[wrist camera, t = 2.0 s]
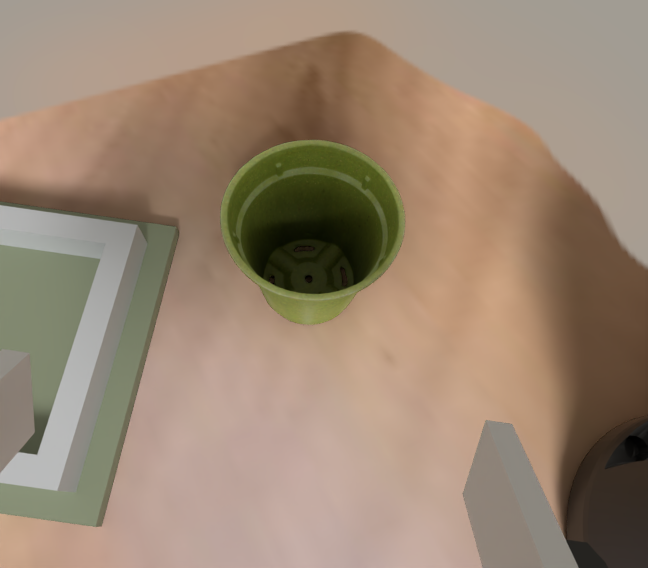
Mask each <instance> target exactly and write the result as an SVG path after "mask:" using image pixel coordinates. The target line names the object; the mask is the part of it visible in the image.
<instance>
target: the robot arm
mask: <svg viewBox="0 0 648 568" xmlns="http://www.w3.org/2000/svg"><path fill="white" fill-rule="evenodd" d="M34 433H35V427H34V411H33V396H32V380H31V365H30V353H26V352H19V351H13V350H6V349H2V350H1V351H0V473H1V472H2V470H3V469H4V468H5V467H6V466H7V465H8V463H9V462H10V461H11V460H12V459H13V458H14V456H15V455H16V454H17V453H18V452H19V450H20V449H21V448H22V447H23V446H24V445H25V443H26V442H27V441H28V440H29V439H30V438H31V436H32V435H33V434H34ZM463 497H464V501H465V505H466V508H467V512H468V516H469V519H470V523H471V527H472V530H473V534H474V538H475V541H476V545H477V549H478V552H479V556H480V560H481V563H482V567H483V568H648V415H647V416H643V417H639V418H636V419H633V420H630V421H628V422H625V423H623V424H621V425H619V426H617V427H616V428H614V429H613V430H611V431H610V432H608V433H607V434H606V435H605V436H603V437H602V438H601V439H600V440H599V441H598V442H597V443H596V444H595V445H594V446H593V448H592V449H591V450H590V451H589V453H588V454H587V455H586V457H585V459H584V460H583V462H582V464H581V466H580V468H579V470H578V472H577V474H576V477H575V479H574V482H573V485H572V489H571V493H570V497H569V503H568V510H567V540H566V539H565V537H564V535H563V533H562V531H561V529H560V526H559V524H558V522H557V520H556V518H555V516H554V514H553V511H552V509H551V507H550V505H549V503H548V501H547V498H546V496H545V494H544V492H543V490H542V488H541V486H540V483H539V481H538V479H537V477H536V475H535V473H534V470H533V468H532V466H531V464H530V462H529V460H528V457H527V455H526V453H525V451H524V449H523V447H522V445H521V442H520V440H519V438H518V436H517V434H516V432H515V429H514V427H513V425H512V424H509V423H502V422H495V421H488V420H486V421H485V424H484V427H483V431H482V434H481V437H480V440H479V443H478V447H477V450H476V453H475V456H474V459H473V463H472V466H471V469H470V472H469V475H468V479H467V482H466V485H465V488H464V491H463Z"/></svg>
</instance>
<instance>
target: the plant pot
mask: <svg viewBox="0 0 648 568" xmlns="http://www.w3.org/2000/svg"><path fill="white" fill-rule="evenodd" d="M220 225H221V232H222V236H223V239H224V242H225V245H226V248H227V250H228V252H229V254H230V255H231V257H232V259H233V260H234V262H235V263H236V265H237V266H238V267H239V268H240V269H241V271H242V272H243V273H244V274H245V275H246V276H247V277H248V278H250V279H251V280H252V281H253V282H254V283H256V284H257V285H259V287H260V289H261V291H262V293H263V295H264V296H265V298H266V300H267V302H268V304H269V305H270V306H271V307H272V308H273V309H274V310H275V311H276V312H277V313H278V314H280V315H281V316H283V317H284V318H286V319H288V320H290V321H292V322H295V323H299V324H320V323H323V322H326V321H329V320H331V319H333V318H335V317H336V316H338V315H339V314H340V313H341V312H342V311H343V310H344V309H345V308H346V307H347V306H348V305H349V303H350V302H351V301H352V299H353V298H354V296H355V295H356V293H357V292H359V291H361V290H362V289H364V288H366V287H368V286H369V285H370V284H372V283H373V282H375V281H376V280H377V279H378V278H379V277H380V276H381V275H382V274H383V273H384V272H385V271H386V270H387V269H388V268H389V266H390V265H391V264H392V262H393V261H394V259H395V257H396V256H397V254H398V251H399V249H400V247H401V244H402V241H403V237H404V231H405V213H404V208H403V203H402V200H401V197H400V194H399V192H398V190H397V188H396V186H395V184H394V183H393V181H392V180H391V178H390V177H389V175H388V174H387V173H386V172H385V170H384V169H383V168H381V167H380V166H379V165H378V164H377V163H376V162H374V161H373V160H372V159H371V158H369V157H368V156H366V155H365V154H363V153H361V152H359V151H357V150H355V149H353V148H351V147H349V146H346V145H342V144H339V143H335V142H330V141H324V140H300V141H293V142H287V143H283V144H280V145H277V146H274V147H272V148H270V149H268V150H266V151H263V152H261V153H260V154H258V155H256V156H255V157H253V158H252V159H251V160H250V161H249V162H247V163H246V164H245V165H244V166H243V167H241V168H240V169H239V170H238V172H237V173H236V174H235V176H234V177H233V178H232V180H231V181H230V183H229V185H228V187H227V189H226V191H225V194H224V196H223V200H222V204H221V211H220ZM299 246H311V247H314V248H315V249H314V250H313V251H300V252H295V251H294V249H295V248H297V247H299ZM341 267H342V268H344V269H345V273H346V276H347V279H348V281H347V285H346V286H343V285H342V276H341V271H340V268H341ZM307 275H310V276H312V281H311V282H310V283H308V282H306V281H305V277H306V276H307ZM271 276H274V277H275V278H274V279H275V285H273V284H271V283H270V282H269V278H270V277H271Z"/></svg>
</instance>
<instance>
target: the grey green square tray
mask: <svg viewBox="0 0 648 568" xmlns="http://www.w3.org/2000/svg"><path fill="white" fill-rule="evenodd" d="M178 236H179V232H178V230H177V227H175V226H168V225H161V224H154V223H147V222H140V221H133V220H126V219H119V218H112V217H105V216H98V215H91V214H84V213H77V212H70V211H63V210H56V209H49V208H42V207H35V206H28V205H21V204H14V203H8V202H1V201H0V351H1V350H2V349H6V350H13V351H19V352H26V353H30V365H31V380H32V396H33V411H34V427H35V433H34V434H33V435H32V436H31V438H30V439H29V440H28V441H27V442H26V443H25V445H24V446H23V447H22V448H21V449H20V450H19V452H18V453H17V454H16V455H15V456H14V458H13V459H12V460H11V461H10V462H9V463H8V465H7V466H6V467H5V468H4V469H3V470H2V472H1V473H0V513H1V514H8V515H15V516H23V517H30V518H37V519H44V520H51V521H58V522H65V523H72V524H79V525H86V526H93V527H99V526H102V523H103V519H104V515H105V511H106V508H107V504H108V500H109V496H110V493H111V489H112V485H113V481H114V478H115V474H116V470H117V466H118V463H119V459H120V455H121V451H122V447H123V444H124V440H125V436H126V432H127V429H128V425H129V421H130V417H131V414H132V410H133V406H134V402H135V398H136V395H137V391H138V387H139V383H140V380H141V376H142V372H143V368H144V365H145V361H146V357H147V353H148V349H149V346H150V342H151V338H152V334H153V331H154V327H155V323H156V319H157V316H158V312H159V308H160V304H161V301H162V297H163V293H164V289H165V285H166V282H167V278H168V274H169V270H170V267H171V263H172V259H173V255H174V252H175V248H176V244H177V240H178Z"/></svg>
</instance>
